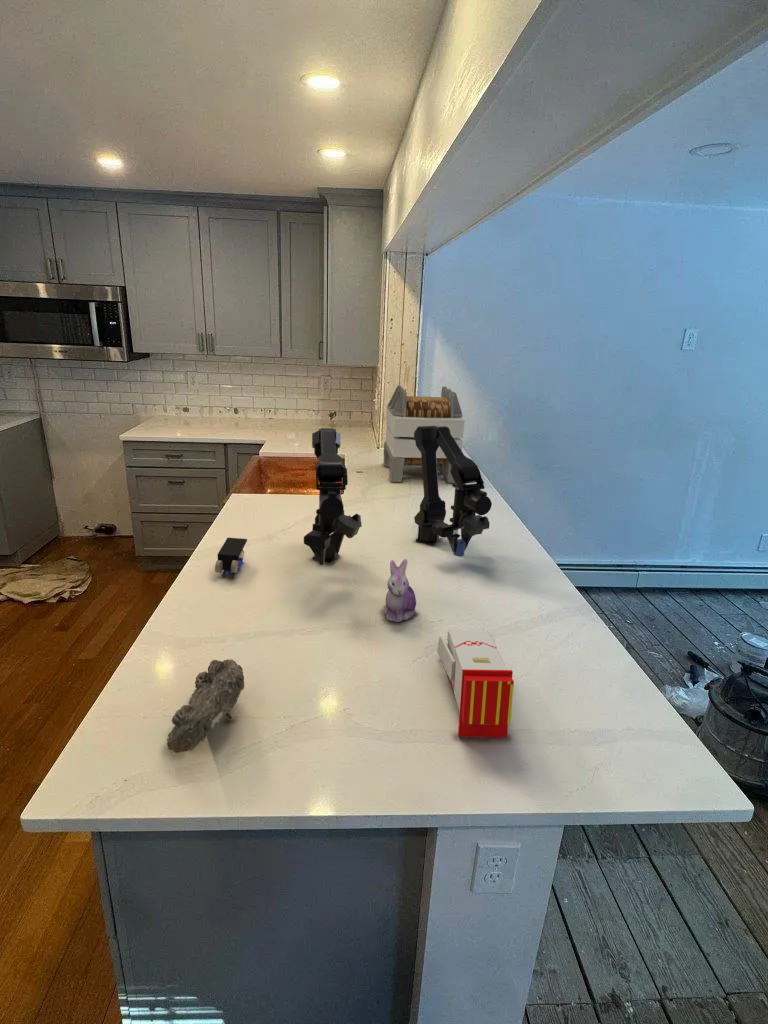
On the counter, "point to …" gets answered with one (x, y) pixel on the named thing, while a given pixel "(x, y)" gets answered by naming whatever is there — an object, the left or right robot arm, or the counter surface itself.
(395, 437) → the grey crate with roll
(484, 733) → the toy
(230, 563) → the black wheeled cart
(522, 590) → the counter surface
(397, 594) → the figurine
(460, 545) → the canister
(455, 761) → the counter surface
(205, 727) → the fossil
